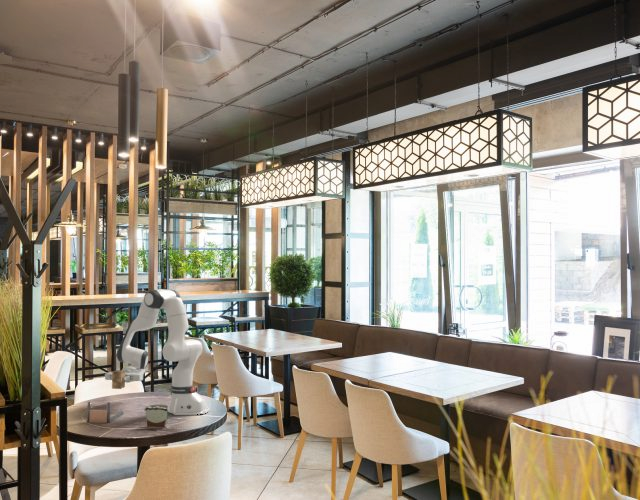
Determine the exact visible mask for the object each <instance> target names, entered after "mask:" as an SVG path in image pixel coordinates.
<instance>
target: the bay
mask: <svg viewBox="0 0 640 500" xmlns="http://www.w3.org/2000/svg"><path fill="white" fill-rule="evenodd" d="M111 404H112V403H111V402H110V401H109V402H107V403H106V409H92V401H88V402H87V420H86V423H101V424H102V423H103V424H107V423H108V424H110V423H112V422H113V421H114V420H117V419H118V418H119V417H122V416H123V415H124V411H120V412H117V413H116V414H114V415H113V416H111Z"/></svg>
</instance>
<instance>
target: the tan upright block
mask: <svg viewBox="0 0 640 500" xmlns="http://www.w3.org/2000/svg"><path fill="white" fill-rule="evenodd" d="M111 372H112V380H111V389H112V390H115V389H116V390H122V389H123V388H125V387H126V382H125V381H123V380H122V378H123V377H125V371H121V370H119V369H118V370H114V371H111Z"/></svg>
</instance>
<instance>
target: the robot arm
mask: <svg viewBox="0 0 640 500" xmlns="http://www.w3.org/2000/svg"><path fill="white" fill-rule="evenodd" d="M161 309H163V310H164V311H165V315H166V316H165V317H166V321H167V328H168V334H167V335H168V337H167V341H166V343H165V344H164V346H163V347H162V353H161V354H162V356H163V358H164V360H165V361H167V362H178V363H177V365H176V366H175V368H174V369H173V370H172V373H171V386H170V403H169V406H168V408H169V412H168V413H170V414H173V415H174V416H194V415H195V416H200V414H203V415H206V414H208V413H209V412H210V411H211V407H208V406H207V402H206V399H205V398H204V397H203V396H202V395H200V394H199V393H198V392H197V390H196V389H197V385H194V384H193V378H194V369H195V366H196V363H197V361H198V359H199V357H200V356H201V355H202V353H203V350H204V349H203V343H202V342H201V341H200V340H199V339H193V338H191V339H186V338H185V335H186V332H188V330H189V327H190V325H189V320H188V315H187V310H186V307H185V304H184V301H183V300H182V298H181V296H180V293H179V292H178V291H176V290H174V289H164V288H159V289H158V288H157V289H150V290H148V291H146V292H145V294H144V296H143V299H142V302H141V304H140V306H139V309H138V312H137V313H138V314H137V316H136V318H135V319H133V320H132V321H131V322H130V323H129V324H128V327H127V329H126V331H125V334H124V335H123V338H122V340H121V342H120V345H119V346H118V349H117V350H116V353H115V358H116V359H117V360H118V362H120V363H125V364H129V365H128V366H126V367H123V368H122V369H121V370H120V371H125V377H123V378H122V380H123V381H125V383H127V384H128V383H133V382H140V381H141V382H142V381H143V380H144V374H145V372H146V368H147V367H148V364H149V360H150V355H149V353H148V351H147V350H145V349H140V348H137V347H134V346H131V345H130V344H131V342H132V339H133V337H134V335H135V333H136V332H139V331H140V332H143V331H148V330H150V329H153V327H155V326H156V323H157V320H158V317H159V312H160V310H161ZM112 372H113V371H108V372H106V373H105V374H104V379H105V380H106V381H112ZM207 412H208V413H207ZM205 413H206V414H205ZM197 414H198V415H197Z"/></svg>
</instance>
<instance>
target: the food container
mask: <svg viewBox="0 0 640 500" xmlns="http://www.w3.org/2000/svg"><path fill="white" fill-rule="evenodd" d="M144 411H145V422H146V424H145V425H146V428H157V429H165V428H166V427H167V419H168V413H169V406H168V405H166V404H159V403H158V404H149V405H146V406H145V407H144Z"/></svg>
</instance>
